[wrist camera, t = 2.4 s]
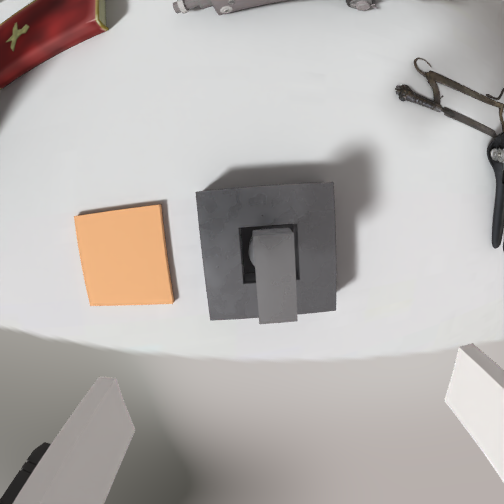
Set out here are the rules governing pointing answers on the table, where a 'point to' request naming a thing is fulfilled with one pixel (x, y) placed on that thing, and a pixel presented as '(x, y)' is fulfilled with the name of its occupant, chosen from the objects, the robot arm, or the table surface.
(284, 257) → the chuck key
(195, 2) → the hydraulic cylinder
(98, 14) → the hardcover book
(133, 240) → the key mat
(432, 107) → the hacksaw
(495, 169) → the can opener
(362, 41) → the table surface
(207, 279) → the block
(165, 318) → the table surface
